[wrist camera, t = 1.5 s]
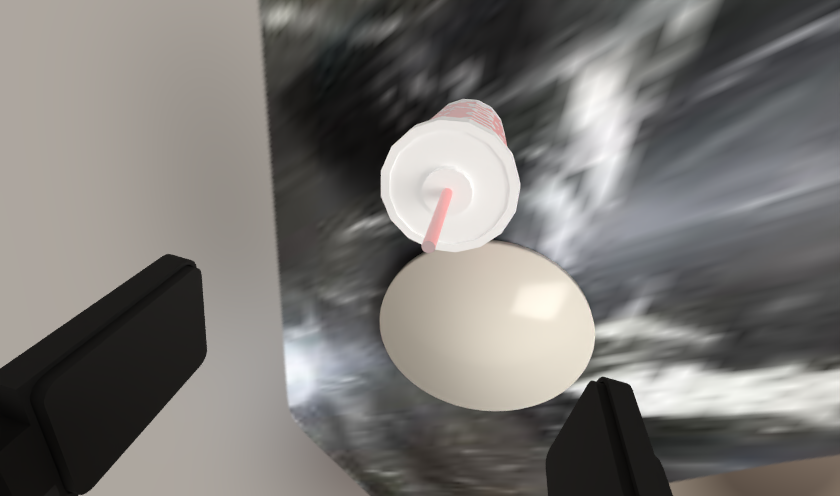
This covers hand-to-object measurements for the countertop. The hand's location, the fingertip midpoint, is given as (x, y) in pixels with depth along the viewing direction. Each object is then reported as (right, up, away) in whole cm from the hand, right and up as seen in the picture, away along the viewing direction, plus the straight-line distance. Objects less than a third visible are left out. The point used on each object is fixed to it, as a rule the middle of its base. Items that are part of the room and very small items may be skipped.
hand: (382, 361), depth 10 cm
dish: (+6, -4, +23) cm, 24 cm away
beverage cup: (+4, +10, +16) cm, 19 cm away
